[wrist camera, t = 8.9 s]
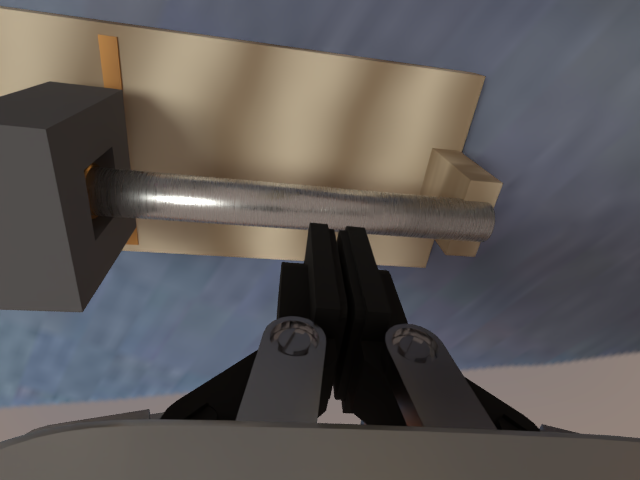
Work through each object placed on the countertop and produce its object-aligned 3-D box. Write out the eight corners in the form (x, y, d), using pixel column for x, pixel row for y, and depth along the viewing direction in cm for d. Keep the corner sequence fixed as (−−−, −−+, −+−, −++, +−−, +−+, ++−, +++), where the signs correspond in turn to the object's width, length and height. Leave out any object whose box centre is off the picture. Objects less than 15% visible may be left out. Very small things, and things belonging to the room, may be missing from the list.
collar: (122, 89, 18) (45, 129, 12) (136, 226, 21) (82, 312, 15) (49, 81, 17) (-70, 117, 11) (76, 222, 21) (-5, 309, 15)
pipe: (479, 190, 20) (503, 210, 18) (465, 231, 21) (485, 254, 19) (-74, 139, 16) (-123, 158, 14) (-55, 192, 17) (-99, 216, 15)
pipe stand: (472, 72, 22) (541, 93, 16) (418, 255, 28) (455, 317, 22) (-35, 1, 18) (-173, -4, 12) (25, 231, 24) (-51, 299, 18)
